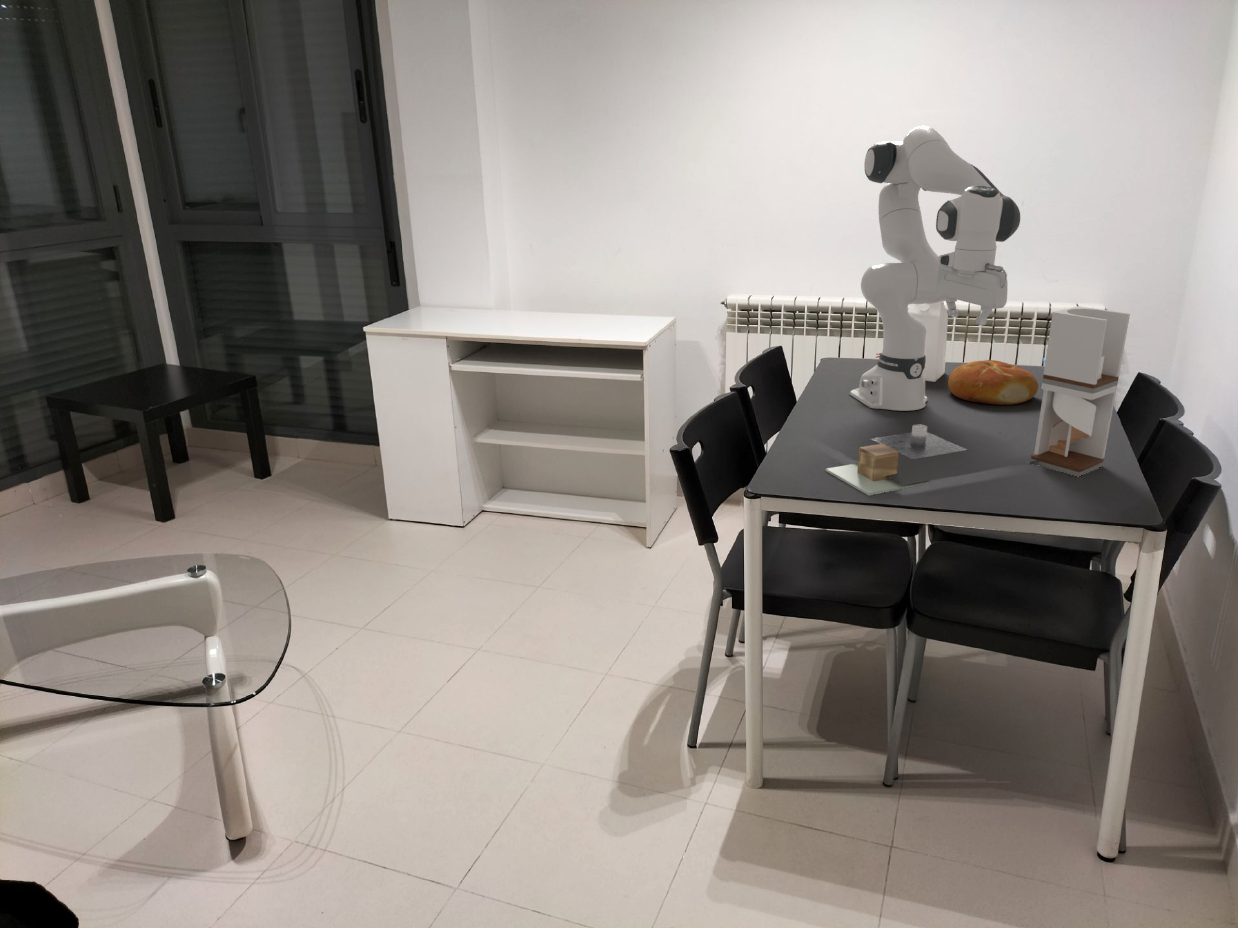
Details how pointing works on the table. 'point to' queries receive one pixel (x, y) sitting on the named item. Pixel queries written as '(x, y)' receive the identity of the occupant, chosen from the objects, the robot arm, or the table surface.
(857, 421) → the table surface
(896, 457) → the oak block
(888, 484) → the sage mat
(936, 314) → the milk
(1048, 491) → the table surface
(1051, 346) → the white tall layered tower
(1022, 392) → the bread
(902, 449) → the post mount
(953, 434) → the table surface
